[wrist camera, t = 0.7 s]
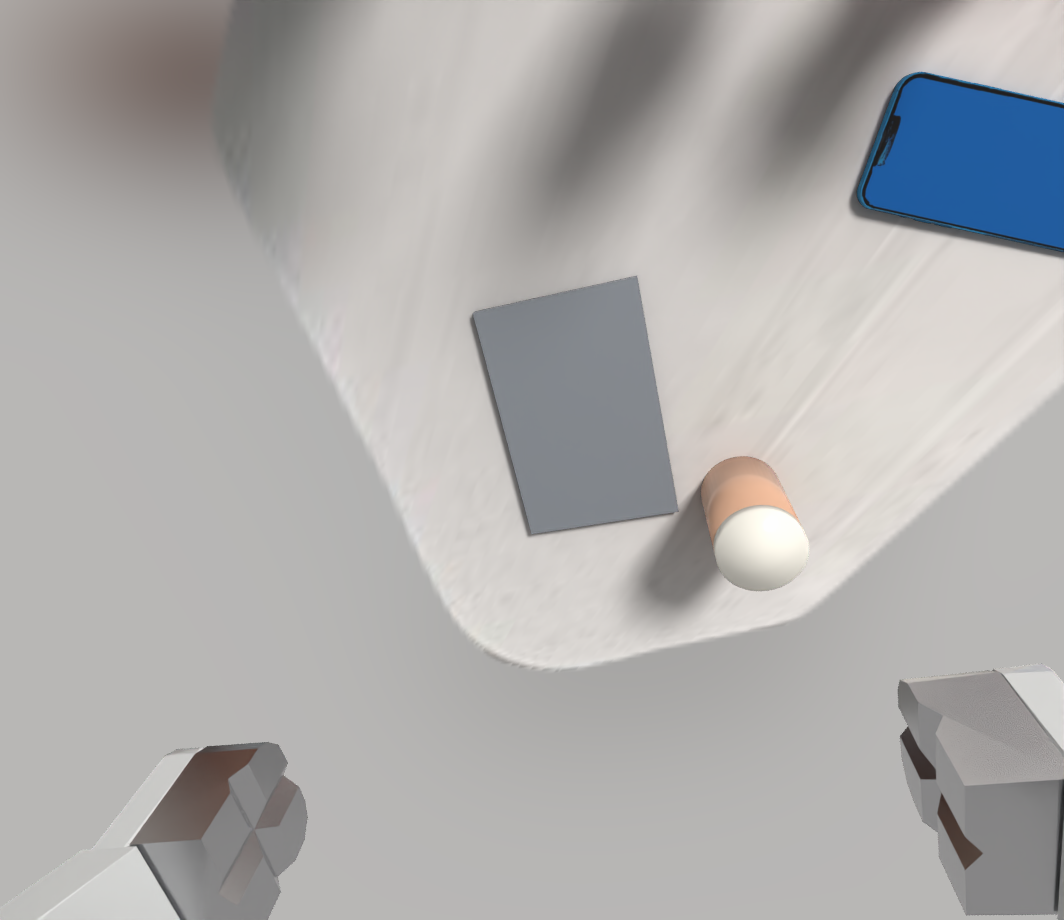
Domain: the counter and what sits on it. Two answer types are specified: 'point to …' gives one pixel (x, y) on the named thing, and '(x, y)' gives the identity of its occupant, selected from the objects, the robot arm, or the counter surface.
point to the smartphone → (970, 160)
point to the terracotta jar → (752, 525)
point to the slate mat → (579, 405)
